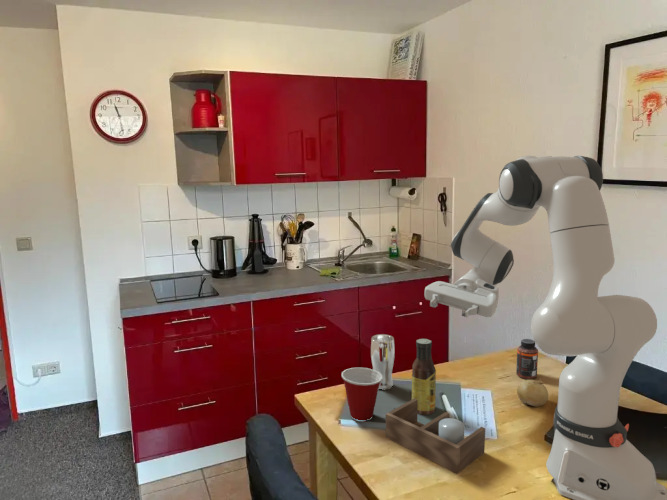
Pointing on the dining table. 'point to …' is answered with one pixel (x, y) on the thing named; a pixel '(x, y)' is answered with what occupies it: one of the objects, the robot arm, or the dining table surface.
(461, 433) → the grey rounded cylinder
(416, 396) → the sauce bottle
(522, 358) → the supplement bottle
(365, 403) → the plastic cup
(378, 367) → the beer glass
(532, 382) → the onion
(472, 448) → the walnut rail
